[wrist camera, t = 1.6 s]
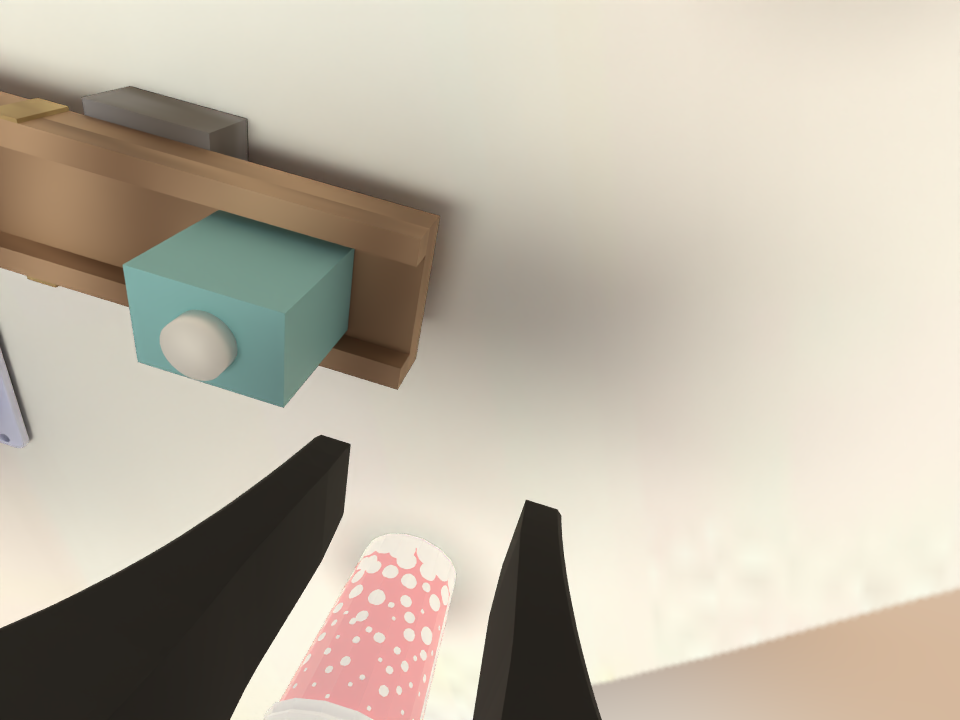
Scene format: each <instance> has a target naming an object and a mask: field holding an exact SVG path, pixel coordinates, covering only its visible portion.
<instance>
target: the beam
mask: <svg viewBox="0 0 960 720" xmlns="http://www.w3.org/2000/svg"><path fill="white" fill-rule="evenodd" d="M82 103H83V108H84V114H85V115H83V114H79V113H76V112H72V111H69V107H68V106H65V105H61V104H58V103H54V102H51V101H47V100H44V99H40V98H34V99H26V98H23V97H19V96H16V95H12V94H9V93H5V92H1V91H0V268H4V269H7V270H10V271H13V272H17V273H20V274H23V275H26V276H27V278H28V279H29V280H33V281H36V282H39V283H42V284H46V285H49V286H52V287H55V288H56V287H58V286H62V287H65V288H69V289H72V290H75V291H78V292H82V293H85V294H88V295H91V296H95V297H98V298H101V299H104V300H108V301H111V302H114V303H117V304H121V305H124V306H127V307H129V302H128V296H127V290H126V283H125V277H124V271H123V264H125V263H126V262H128V261H130V260H132V259H133V258H135V257H137V256H139V255H140V254H142V253H144V252H146V251H147V250H149V249H151V248H153V247H154V246H156V245H158V244H160V243H162V242H163V241H165V240H167V239H169V238H170V237H172V236H174V235H176V234H177V233H179V232H181V231H183V230H184V229H186V228H188V227H190V226H191V225H193V224H195V223H197V222H199V221H200V220H202V219H204V218H206V217H207V216H209V215H211V214H213V213H214V212H216V211H218V210H222V211H226V212H229V213H232V214H236V215H239V216H243V217H246V218H250V219H253V220H256V221H260V222H263V223H267V224H270V225H274V226H277V227H281V228H284V229H287V230H291V231H294V232H298V233H301V234H305V235H308V236H311V237H315V238H318V239H322V240H325V241H329V242H332V243H336V244H339V245H342V246H346V247H349V248H353V249H355V250H354V261H353V273H352V285H351V296H350V308H349V319H348V330H347V331H346V332H345V334H344V335H343V336H342V337H341V338H340V340H339V341H338V342H337V343H336V344H335V346H334V347H333V348H332V349H331V351H330V352H329V353H328V354H327V355H326V357H325V358H324V359H323V360H322V362H321V363H320V364H319V366H322V367H325V368H329V369H332V370H335V371H338V372H342V373H345V374H348V375H351V376H355V377H358V378H361V379H364V380H368V381H371V382H374V383H378V384H381V385H384V386H387V387H391V388H394V389H397V390H398V388H399V387H400V385H401V383H402V381H403V380H404V378H405V376H406V375H407V373H408V371H409V369H410V368H411V366H412V364H413V363H414V361H415V359H416V355H417V349H418V343H419V338H420V332H421V326H422V320H423V314H424V308H425V302H426V296H427V290H428V285H429V279H430V273H431V267H432V261H433V255H434V249H435V243H436V237H437V232H438V226H439V220H440V216H439V215H435V214H432V213H428V212H424V211H421V210H417V209H414V208H410V207H407V206H403V205H400V204H396V203H393V202H389V201H386V200H382V199H379V198H375V197H372V196H368V195H365V194H361V193H358V192H354V191H350V190H347V189H343V188H340V187H336V186H333V185H329V184H326V183H322V182H319V181H315V180H312V179H308V178H305V177H301V176H298V175H294V174H291V173H287V172H283V171H280V170H276V169H273V168H269V167H266V166H262V165H259V164H255V163H252V162H248V146H247V119H245V118H242V117H238V116H235V115H231V114H227V113H224V112H220V111H217V110H213V109H209V108H206V107H202V106H199V105H195V104H192V103H188V102H184V101H181V100H177V99H174V98H170V97H166V96H163V95H159V94H156V93H152V92H148V91H145V90H141V89H138V88H134V87H130V86H129V87H125V88H120V89H116V90H111V91H107V92H103V93H98V94H94V95H90V96H85V97H82Z"/></svg>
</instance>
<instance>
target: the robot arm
mask: <svg viewBox="0 0 960 720" xmlns="http://www.w3.org/2000/svg"><path fill="white" fill-rule="evenodd" d="M0 442H1V443H4V444H7V445H10V446H13V447H16V448H23V447H24V446H26V445H27V444H28V443H29V437H28V434H27V431H26V428H25V425H24V421H23V418H22V415H21V412H20V409H19V406H18V402H17V399H16V396H15V393H14V390H13V386H12V383H11V380H10V377H9V374H8V371H7V367H6V364H5V361H4V358H3V355H2V352H1V348H0ZM350 445H351V444H349V443H345V442H342V441H339V440H336V439H333V438H330V437H326V436H323V435H320V436H317V437H315V438H314V439H313V440H312V441H310V442H309V443H308V444H307V445H306V446H304V447H303V448H302V449H301V450H299V451H298V452H297V453H296V454H295V455H293V456H292V457H291V458H290V459H288V460H287V461H286V462H285V463H283V464H282V465H281V466H279V467H278V468H277V469H276V470H274V471H273V472H272V473H270V474H269V475H268V476H266V477H265V478H264V479H263V480H261V481H260V482H258V483H257V484H256V485H254V486H253V487H252V488H250V489H249V490H247V491H246V492H245V493H243V494H242V495H241V496H239V497H238V498H236V499H235V500H234V501H232V502H231V503H229V504H228V505H227V506H225V507H224V508H222V509H221V510H219V511H218V512H216V513H215V514H213V515H212V516H210V517H209V518H207V519H206V520H204V521H203V522H201V523H200V524H198V525H196V526H195V527H193V528H192V529H190V530H189V531H187V532H186V533H184V534H183V535H181V536H180V537H178V538H176V539H175V540H173V541H171V542H170V543H168V544H166V545H165V546H163V547H162V548H160V549H158V550H156V551H155V552H153V553H151V554H150V555H148V556H146V557H144V558H143V559H141V560H139V561H137V562H135V563H134V564H132V565H130V566H128V567H127V568H125V569H123V570H121V571H119V572H117V573H115V574H114V575H112V576H110V577H108V578H106V579H104V580H102V581H100V582H98V583H96V584H94V585H92V586H90V587H88V588H86V589H84V590H83V591H81V592H79V593H77V594H75V595H73V596H71V597H68V598H66V599H64V600H62V601H60V602H58V603H56V604H54V605H52V606H50V607H48V608H45V609H43V610H41V611H39V612H36V613H34V614H32V615H30V616H27V617H25V618H23V619H20V620H18V621H16V622H14V623H11V624H9V625H7V626H4V627H2V628H0V720H230V718H231V716H232V714H233V712H234V710H235V708H236V706H237V704H238V702H239V700H240V698H241V696H242V694H243V692H244V690H245V688H246V686H247V685H248V683H249V681H250V679H251V677H252V676H253V674H254V672H255V670H256V669H257V667H258V665H259V663H260V662H261V660H262V658H263V657H264V655H265V653H266V652H267V650H268V649H269V647H270V645H271V644H272V642H273V640H274V639H275V637H276V635H277V634H278V632H279V631H280V629H281V627H282V626H283V624H284V622H285V621H286V619H287V617H288V616H289V614H290V613H291V611H292V609H293V608H294V606H295V604H296V603H297V601H298V599H299V598H300V596H301V595H302V593H303V591H304V590H305V588H306V586H307V585H308V583H309V581H310V580H311V578H312V576H313V575H314V573H315V571H316V570H317V568H318V566H319V565H320V563H321V561H322V559H323V557H324V555H325V553H326V551H327V549H328V547H329V544H330V542H331V540H332V538H333V536H334V534H335V531H336V529H337V527H338V525H339V523H340V520H341V518H342V516H343V513H344V503H345V494H346V484H347V474H348V465H349V455H350ZM473 720H602V719H601V716H600V713H599V710H598V707H597V703H596V700H595V697H594V693H593V690H592V686H591V683H590V679H589V675H588V672H587V668H586V664H585V660H584V656H583V652H582V649H581V644H580V640H579V636H578V631H577V627H576V622H575V617H574V612H573V607H572V602H571V597H570V592H569V586H568V580H567V574H566V567H565V560H564V551H563V541H562V527H561V514H560V513H559V511H558V510H557V509H554V508H551V507H548V506H544V505H541V504H538V503H535V502H532V501H529V500H526V501H525V504H524V507H523V510H522V512H521V515H520V518H519V521H518V524H517V526H516V529H515V532H514V535H513V537H512V540H511V543H510V546H509V549H508V551H507V554H506V557H505V560H504V563H503V565H502V569H501V573H500V577H499V580H498V584H497V588H496V592H495V596H494V600H493V604H492V608H491V612H490V615H489V621H488V627H487V633H486V639H485V646H484V652H483V658H482V665H481V671H480V677H479V684H478V690H477V697H476V703H475V709H474V716H473Z"/></svg>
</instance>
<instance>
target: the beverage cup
mask: <svg viewBox="0 0 960 720" xmlns="http://www.w3.org/2000/svg"><path fill="white" fill-rule="evenodd" d="M456 575H457V574H456V571H455V568H454V566H453V563H452V561H451V560H450V559H449V558H448V557H447V556H446V555H445V553H444V552H443V551H442V550H441V549H440V548H438V547H436V546H435V545H433V544H431V543H430V542H428V541H426V540H424V539H422V538H418V537H415V536H411V535H408V534H385V535H382V536H380V537H377V538H375V539H373V541H372V542H371V543H370V544H369V545H368V547H367V548H366V550H365V551H364V553H363V555H362V557H361V559H360V560H359V562H358V564H357V566H356V567H355V569H354V571H353V573H352V574H351V576H350V578H349V580H348V581H347V583H346V585H345V587H344V588H343V590H342V592H341V594H340V596H339V597H338V599H337V601H336V603H335V604H334V606H333V608H332V610H331V611H330V613H329V615H328V617H327V618H326V620H325V622H324V624H323V626H322V627H321V629H320V631H319V633H318V634H317V636H316V638H315V640H314V641H313V643H312V645H311V647H310V648H309V650H308V652H307V654H306V656H305V657H304V659H303V661H302V663H301V664H300V666H299V668H298V670H297V671H296V673H295V675H294V677H293V678H292V680H291V682H290V684H289V685H288V687H287V689H286V691H285V693H284V694H283V696H282V698H281V700H280V701H279V702H275V703H274V704H273V705H272V706H271V707H270V709H269V710H268V711H267V712H266V713H265V716H264V719H263V720H423V717H424V713H425V709H426V704H427V700H428V696H429V692H430V687H431V683H432V679H433V675H434V670H435V666H436V662H437V658H438V653H439V649H440V645H441V641H442V636H443V632H444V628H445V623H446V619H447V615H448V611H449V606H450V602H451V598H452V594H453V589H454V585H455V580H456Z"/></svg>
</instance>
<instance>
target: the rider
mask: <svg viewBox="0 0 960 720" xmlns="http://www.w3.org/2000/svg"><path fill="white" fill-rule="evenodd" d="M354 250H355V249H353V248H349V247H346V246H342V245H339V244H336V243H332V242H329V241H325V240H322V239H318V238H315V237H311V236H308V235H305V234H301V233H298V232H294V231H291V230H287V229H284V228H281V227H277V226H274V225H270V224H267V223H263V222H260V221H256V220H253V219H250V218H246V217H243V216H239V215H236V214H232V213H229V212H226V211H222V210H218V211H216V212H214V213H213V214H211V215H209V216H207V217H206V218H204V219H202V220H200V221H199V222H197V223H195V224H193V225H191V226H190V227H188V228H186V229H184V230H183V231H181V232H179V233H177V234H176V235H174V236H172V237H170V238H169V239H167V240H165V241H163V242H162V243H160V244H158V245H156V246H154V247H153V248H151V249H149V250H147V251H146V252H144V253H142V254H140V255H139V256H137V257H135V258H133V259H132V260H130V261H128V262H126V263H125V264H123V271H124V277H125V283H126V290H127V296H128V302H129V309H130V315H131V321H132V328H133V334H134V340H135V347H136V353H137V359H138V362H140V363H143V364H146V365H149V366H153V367H156V368H159V369H162V370H165V371H169V372H172V373H175V374H178V375H181V376H184V377H188V378H191V379H194V380H197V381H200V382H203V383H207V384H210V385H213V386H216V387H219V388H223V389H226V390H229V391H232V392H235V393H238V394H242V395H245V396H248V397H251V398H254V399H258V400H261V401H264V402H267V403H270V404H273V405H277V406H280V407H283V408H284V407H285V405H286V404H287V403H288V402H289V401H290V399H291V398H292V397H293V396H294V394H295V393H296V392H297V391H298V390H299V388H300V387H301V386H302V385H303V383H304V382H305V381H306V380H307V379H308V377H309V376H310V375H311V374H312V373H313V371H314V370H315V369H316V368H317V366H318V365H319V364H320V363H321V362H322V360H323V359H324V358H325V357H326V355H327V354H328V353H329V352H330V351H331V349H332V348H333V347H334V346H335V344H336V343H337V342H338V341H339V340H340V338H341V337H342V336H343V335H344V334H345V332H346V331H347V330H348V319H349V308H350V296H351V285H352V273H353V261H354Z"/></svg>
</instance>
